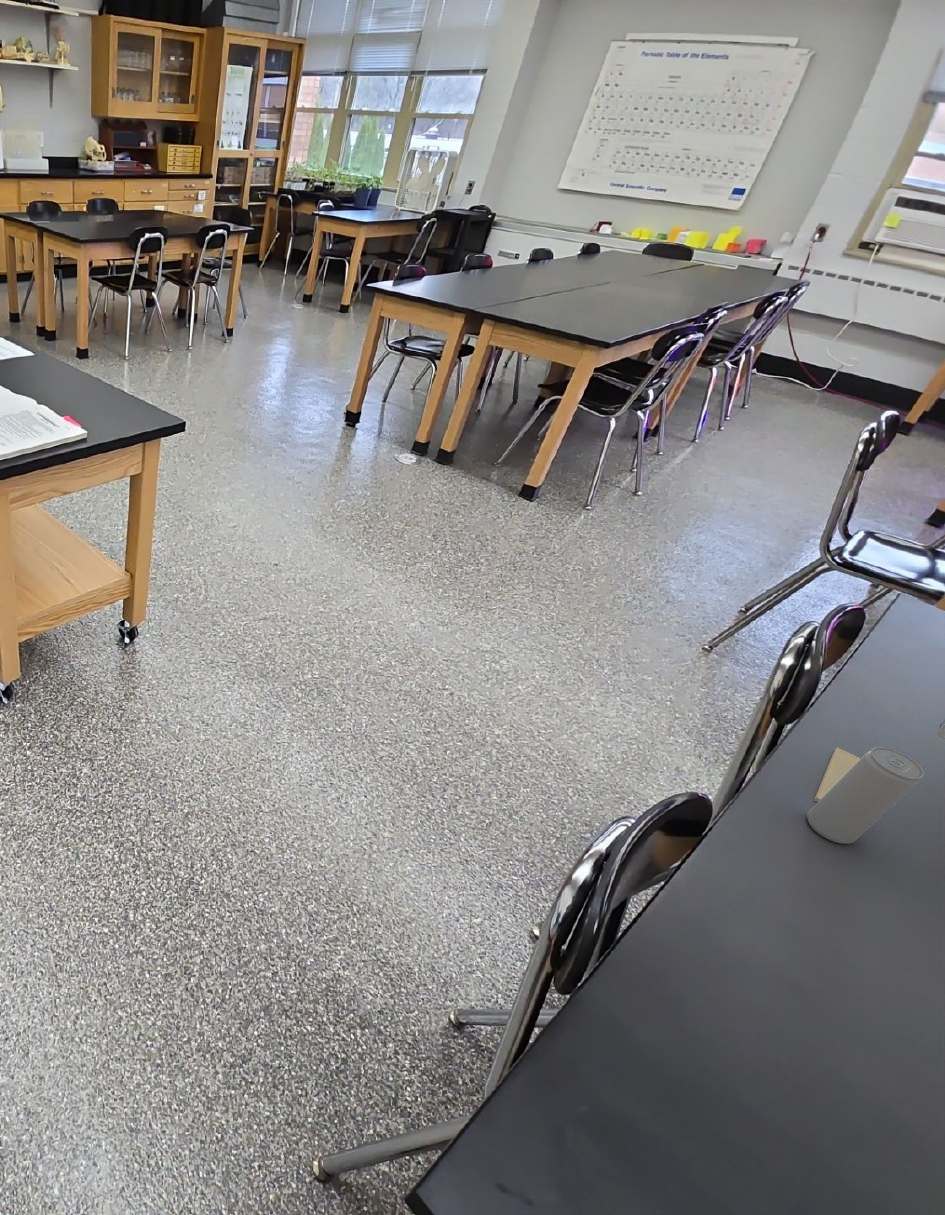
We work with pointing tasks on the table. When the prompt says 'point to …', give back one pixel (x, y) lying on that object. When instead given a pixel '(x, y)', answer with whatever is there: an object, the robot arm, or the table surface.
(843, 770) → the napkin
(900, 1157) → the table surface
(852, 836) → the beverage can
